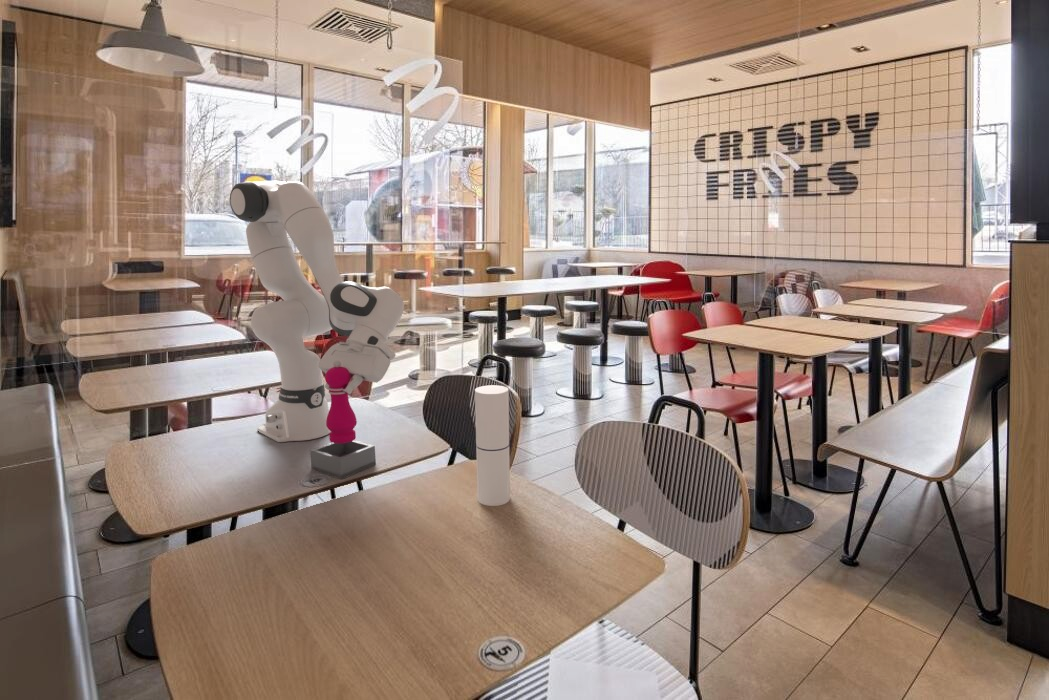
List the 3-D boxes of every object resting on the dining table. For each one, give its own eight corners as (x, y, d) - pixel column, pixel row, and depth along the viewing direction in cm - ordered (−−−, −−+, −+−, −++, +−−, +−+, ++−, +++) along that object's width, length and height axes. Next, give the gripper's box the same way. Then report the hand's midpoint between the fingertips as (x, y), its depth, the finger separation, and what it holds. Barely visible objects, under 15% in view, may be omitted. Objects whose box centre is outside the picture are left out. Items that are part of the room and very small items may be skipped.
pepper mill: (362, 434, 161) (356, 357, 157) (351, 444, 154) (345, 364, 150) (334, 434, 162) (328, 357, 158) (322, 444, 155) (316, 363, 151)
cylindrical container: (474, 504, 138) (471, 393, 133) (481, 491, 145) (479, 384, 140) (506, 507, 137) (504, 394, 132) (512, 493, 144) (511, 385, 138)
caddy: (311, 469, 158) (310, 450, 157) (346, 455, 167) (345, 437, 166) (341, 479, 152) (340, 459, 151) (375, 464, 161) (374, 445, 160)
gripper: (329, 333, 164) (301, 378, 158) (386, 340, 153) (357, 389, 147) (344, 347, 169) (317, 391, 163) (400, 355, 158) (373, 403, 152)
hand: (337, 390), depth 155 cm, fingers closed on pepper mill, 5 cm apart
